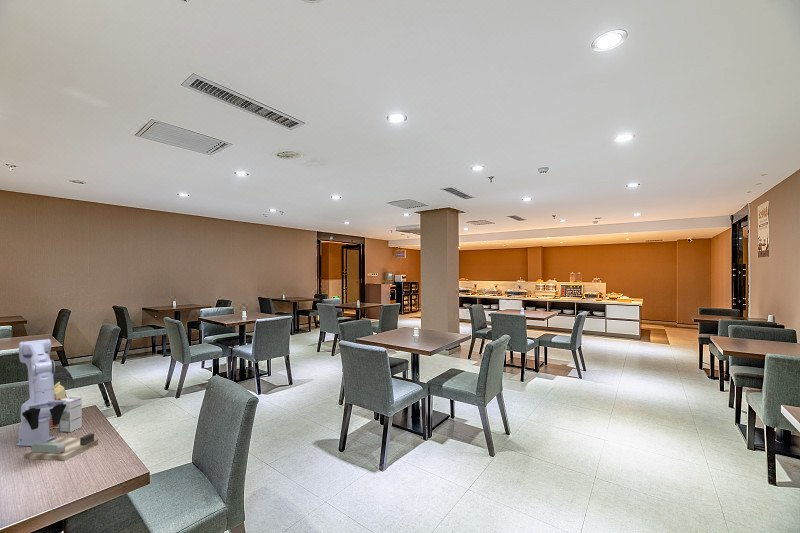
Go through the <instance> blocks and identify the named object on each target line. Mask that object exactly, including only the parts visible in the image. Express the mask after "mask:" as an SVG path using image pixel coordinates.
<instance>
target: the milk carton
mask: <svg viewBox="0 0 800 533" xmlns="http://www.w3.org/2000/svg"><path fill="white" fill-rule="evenodd" d="M54 398H55V400H62V399H64V398H67V393H66V390H65V387H64V386H63V385H61V381H58V382H57V383H56V384H54ZM53 428H56V429H59V424H58V425H55V426H53V423H52V417H50V419H49V430H54V429H53Z"/></svg>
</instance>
